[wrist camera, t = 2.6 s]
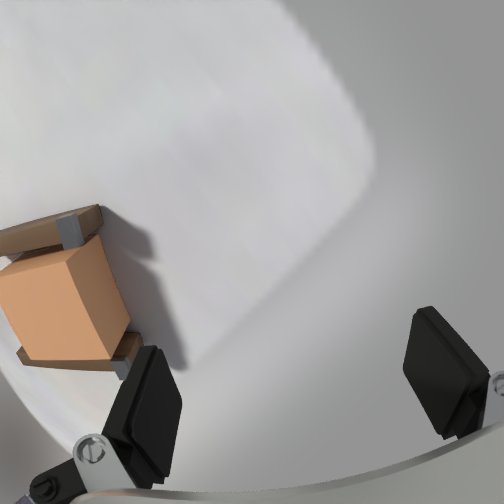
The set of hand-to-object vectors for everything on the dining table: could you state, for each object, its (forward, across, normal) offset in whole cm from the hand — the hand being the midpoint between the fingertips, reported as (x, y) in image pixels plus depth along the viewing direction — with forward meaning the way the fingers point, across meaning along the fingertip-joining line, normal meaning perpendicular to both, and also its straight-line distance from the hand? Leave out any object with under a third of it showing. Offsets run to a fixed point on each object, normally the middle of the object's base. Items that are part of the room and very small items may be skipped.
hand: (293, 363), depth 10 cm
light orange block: (+7, +13, -1) cm, 15 cm away
